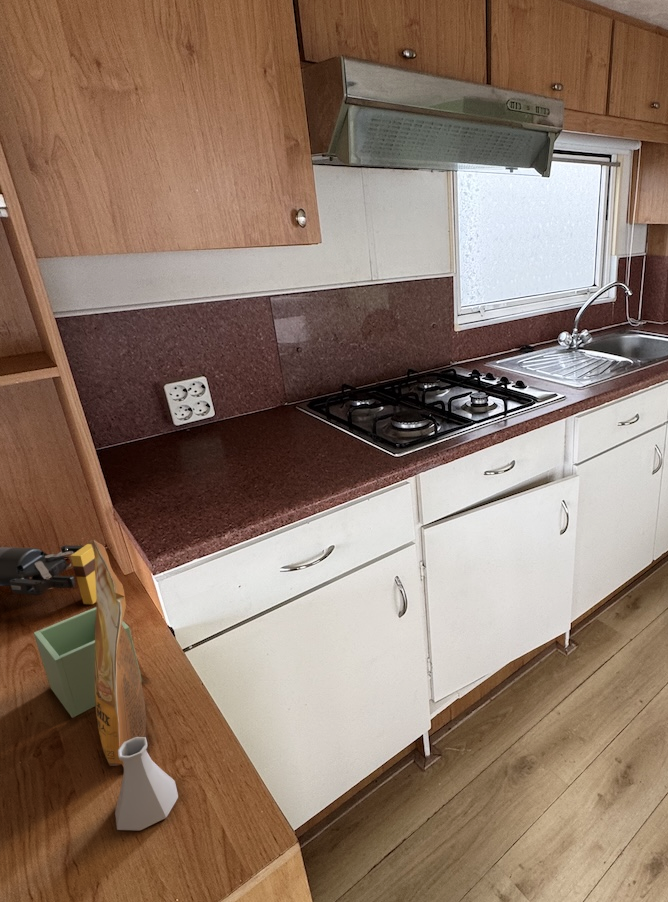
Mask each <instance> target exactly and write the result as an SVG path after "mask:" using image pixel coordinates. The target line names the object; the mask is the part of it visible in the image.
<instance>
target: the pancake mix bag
mask: <svg viewBox="0 0 668 902" xmlns="http://www.w3.org/2000/svg"><path fill="white" fill-rule="evenodd" d="M89 543H90V544H91V545H92V548H93V551H94V555H95V580H96V602H95V603H96V605H95V607H96V620H95V706H94V708H95V715H96V721H97V729H98V734H99V739H100V743H101V747H102V751H103V754H104V757H105V758H106V761H107V763H108V765H109V766H110V767H112V766H122V768H123V769H124V764H123V761H122V760H119V756H118V749H119V748H120V747H121V745H122V744H123V743H124V742H125V741H128V740H130V739H133V738H135V737H146V738H147V735H146V734H147V711H146V709H147V708H146V701H145V698H144V691H143V686H142V682H141V679H140V674H141V673H140V674H139V670H140V669H139V670H138V666H139V665H138V666H137V663H136V660H135V656H134V653H133V649H132V646H131V643H130V640H129V638H128V635H127V633H126V631H125V629H124V627H123V625H122V621H123V622H124V617H125V613H126V609H127V602H126V595H125V589H124V584H122V582H121V581H120V580H119V578H118V575H116V573H115V572H114V570H113V568H112V565H111V563H110V559H109V555H108V552H107V550H106V547H105V546H104V545H103V544H101V543H100V542H98V541H97V540H95V539H90V540H89Z"/></svg>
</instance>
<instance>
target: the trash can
mask: <svg viewBox="0 0 668 902" xmlns="http://www.w3.org/2000/svg"><path fill="white" fill-rule="evenodd" d="M95 620H96V606H95V607H93V608H90V609H88V610H86V611H83V612H81V613H78V614H76V615H73V616H71V617H69V618H66V619H63V620H60V621H59V622H56V623H54V624H52V625H49V626H45V627H43V628H42V629H39V630H37V631H34V632H33V635H34V639H35V643H36V645H37V648H38V653H39V655H40V658H41V662H42V665H43V668H44V672H45V675H46V678H47V681H48V685H49V688H50V689H51V691H52V692H53V693H54V695H55V696H56V698H57V699H58V701H59V702H60V703H61V705H62V706H63V707H64V709H65V710H66V711H67V713H68V715H70V717H71V718H72V719H73V718H75V717H77V716H79V715H81V714H83V713H85V712H88V710H89V711H90V710H91V709H92V708H95ZM122 625H123V627H124V629H125V631H126V633H127V635H128V638H129V640H130V643H131V646H132V649H133V653H134V656H135V660H136V663H137V666H138V670H139V674H140V679H141V683H142V682H143V679H142V675H141V670H140V666H139V662H138V658H137V654H136V648H135V645H134V641H133V637H132V632H131V628H130V626H129V625H128V624H126V623H125V621H124V620H123V621H122Z"/></svg>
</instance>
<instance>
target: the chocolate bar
mask: <svg viewBox="0 0 668 902" xmlns="http://www.w3.org/2000/svg"><path fill="white" fill-rule="evenodd" d="M83 546H84V547H82V548H81V549H79V550H78V551H77V552H75V553H74V554H72V555H71V559H72V563H73V571H74V576H75V577H76V578H75V579H76V581H77V585H78V589H79V593H80V596H81V601H82V604H83V605H94V604H95V603H96V580H95V555H94V551H93V548H92V545H91V543H87V544H85V545H83Z"/></svg>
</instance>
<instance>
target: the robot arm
mask: <svg viewBox="0 0 668 902" xmlns="http://www.w3.org/2000/svg"><path fill="white" fill-rule="evenodd" d="M84 546H85V545H76V544H75V545H72V544H71V545H68V544H66V545H62V546H60V552H57V553H56V552H55V553H49V554H47V553H46V552H45V551H44V550H42V549H40V548H34V547H14V546H13V547H11V546H0V587H11V591H12V593H13V594H23V595H33V596H40V595H43V594H44V593H45V590H53V589H54V588H57V589H72V588H74V587H75V586H77V585H76V580H75V577H74V576H73V575H60V574H62V573H63V572H64V571H69V570H72V569H73V570H74V568H73V563H72V559H71V555H72V554H74V553H75V552H77V551H78V550H79V549H81V548H82V547H84ZM66 559H67V560H69V562H70V563H69V564H68V563H67V560H66Z"/></svg>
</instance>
